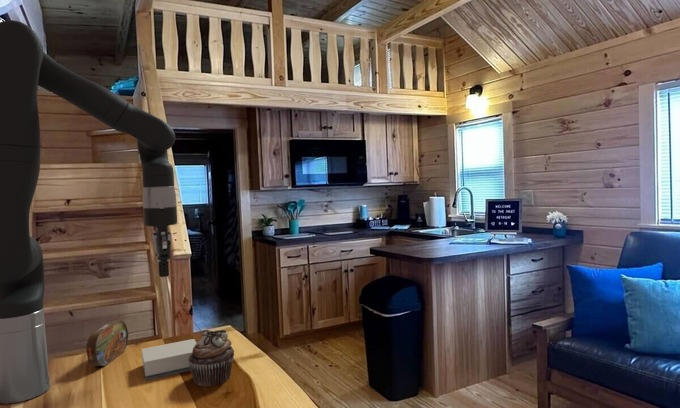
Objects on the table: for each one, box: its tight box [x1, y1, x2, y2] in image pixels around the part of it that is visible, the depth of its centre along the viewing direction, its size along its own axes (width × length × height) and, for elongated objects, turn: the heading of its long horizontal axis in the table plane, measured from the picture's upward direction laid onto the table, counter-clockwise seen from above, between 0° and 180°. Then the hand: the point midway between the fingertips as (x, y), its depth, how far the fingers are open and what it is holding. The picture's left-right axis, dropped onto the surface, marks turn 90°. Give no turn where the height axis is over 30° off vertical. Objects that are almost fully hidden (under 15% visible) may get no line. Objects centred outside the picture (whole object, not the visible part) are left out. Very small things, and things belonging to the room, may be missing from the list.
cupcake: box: [188, 329, 235, 387], centre depth 98 cm, size 10×10×10 cm
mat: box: [142, 366, 191, 381], centre depth 105 cm, size 12×8×1 cm
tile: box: [141, 338, 197, 377], centre depth 105 cm, size 12×4×9 cm
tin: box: [85, 320, 129, 367], centre depth 111 cm, size 15×3×8 cm, turn 179°
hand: (164, 276), depth 111 cm, fingers closed
